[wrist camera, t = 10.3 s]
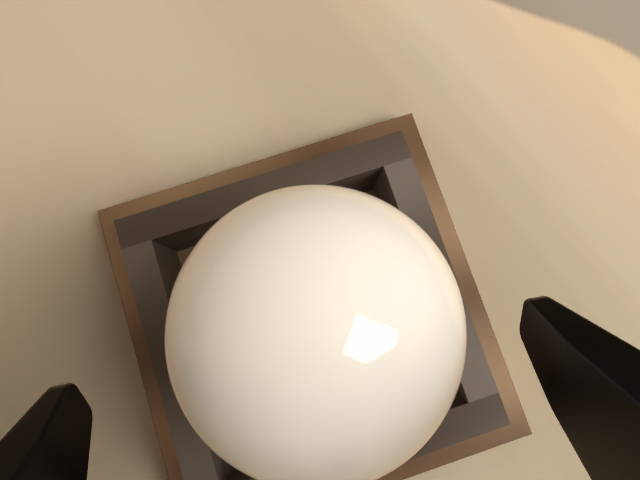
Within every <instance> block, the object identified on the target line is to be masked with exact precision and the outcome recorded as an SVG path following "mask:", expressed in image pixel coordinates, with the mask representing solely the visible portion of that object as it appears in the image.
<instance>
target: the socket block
mask: <svg viewBox="0 0 640 480" xmlns="http://www.w3.org/2000/svg"><path fill="white" fill-rule="evenodd" d="M308 184H322V185H334V186H341V187H346V188H351V189H355V190H358V191H361V192H365V193H367V194H370V195H372V196H375V197H377V198H379V199H381V200H383V201H385V202H387V203H389V204H391V205H392V206H394V207H396V208H397V209H399V210H400V211H402V212H403V213H404V214H406V215H407V216H408V217H410V218H411V219H412V220H413V221H414V222H416V223H417V224H418V225H419V226H420V227H421V228H422V229H423V230H424V231H425V232H426V233H427V234H428V235H429V236H430V238H431V239H432V240H433V241H434V243H435V244H436V245H437V247H438V248H439V249H440V251H441V252H442V254H443V255H444V257H445V259H446V260H447V262H448V264H449V266H450V268H451V270H452V272H453V274H454V276H455V279H456V281H457V284H458V287H459V290H460V293H461V297H462V301H463V305H464V310H465V317H466V327H467V348H466V359H465V365H464V370H463V375H462V379H461V382H460V385H459V389H458V391H457V394H456V397H455V399H454V401H453V403H452V406H451V408H450V410H449V411H448V413H447V415H446V417H445V419H444V420H443V422H442V423H441V425H440V426H439V428H438V429H437V431H436V432H435V433H434V435H433V436H432V437H431V438H430V440H429V441H428V442H427V443H426V444H425V445H424V446H423V447H422V448H421V449H420V450H419V451H418V452H417V453H416V454H415V455H414V456H413V457H411V458H410V459H409V460H408V461H406V462H405V463H404V464H402V465H401V466H400V467H398V468H397V469H395V470H393V471H392V472H390V473H388V474H386V475H385V476H382V477H380V478H378V479H376V480H403V479H406V478H409V477H411V476H414V475H417V474H420V473H423V472H426V471H428V470H431V469H434V468H437V467H440V466H442V465H445V464H448V463H451V462H454V461H457V460H459V459H462V458H465V457H468V456H471V455H474V454H476V453H479V452H482V451H485V450H488V449H490V448H493V447H496V446H499V445H502V444H505V443H507V442H510V441H513V440H516V439H519V438H522V437H524V436H527V435H530V434H532V433H531V430H530V427H529V425H528V422H527V419H526V417H525V414H524V411H523V409H522V406H521V403H520V401H519V398H518V395H517V393H516V390H515V387H514V385H513V382H512V379H511V377H510V374H509V371H508V369H507V366H506V363H505V361H504V358H503V355H502V353H501V350H500V347H499V345H498V342H497V339H496V337H495V334H494V331H493V329H492V326H491V324H490V321H489V318H488V316H487V313H486V310H485V308H484V305H483V302H482V300H481V297H480V294H479V292H478V289H477V286H476V284H475V281H474V278H473V276H472V273H471V270H470V268H469V265H468V262H467V260H466V257H465V254H464V252H463V249H462V246H461V244H460V241H459V238H458V236H457V233H456V230H455V228H454V225H453V222H452V220H451V217H450V214H449V212H448V209H447V206H446V204H445V201H444V198H443V196H442V193H441V190H440V188H439V185H438V182H437V180H436V177H435V174H434V172H433V169H432V166H431V164H430V161H429V158H428V156H427V153H426V150H425V148H424V145H423V142H422V140H421V137H420V134H419V132H418V129H417V126H416V124H415V121H414V118H413V116H412V113H411V114H407V115H404V116H401V117H398V118H395V119H391V120H388V121H385V122H382V123H379V124H375V125H372V126H369V127H366V128H363V129H359V130H356V131H353V132H350V133H347V134H343V135H340V136H337V137H334V138H331V139H327V140H324V141H321V142H318V143H315V144H311V145H308V146H305V147H302V148H299V149H295V150H292V151H289V152H286V153H283V154H279V155H276V156H273V157H270V158H267V159H263V160H260V161H257V162H254V163H251V164H247V165H244V166H241V167H238V168H235V169H231V170H228V171H225V172H222V173H219V174H215V175H212V176H209V177H206V178H202V179H199V180H196V181H193V182H190V183H186V184H183V185H180V186H177V187H174V188H170V189H167V190H164V191H161V192H158V193H154V194H151V195H148V196H145V197H142V198H138V199H135V200H132V201H129V202H126V203H122V204H119V205H116V206H113V207H110V208H106V209H103V210H100V211H98V213H99V217H100V221H101V225H102V228H103V232H104V236H105V240H106V243H107V247H108V251H109V255H110V259H111V262H112V266H113V270H114V274H115V277H116V281H117V285H118V289H119V292H120V296H121V300H122V304H123V308H124V311H125V315H126V319H127V323H128V326H129V330H130V334H131V338H132V341H133V345H134V349H135V353H136V357H137V360H138V364H139V368H140V372H141V375H142V379H143V383H144V387H145V390H146V394H147V398H148V402H149V406H150V409H151V413H152V417H153V421H154V424H155V428H156V432H157V436H158V439H159V443H160V447H161V451H162V455H163V458H164V462H165V466H166V470H167V473H168V477H169V480H255V479H253V478H251V477H249V476H247V475H245V474H243V473H242V472H240V471H238V470H236V469H235V468H233V467H232V466H230V465H229V464H228V463H226V462H225V461H224V460H222V459H221V458H220V457H219V456H217V455H216V454H215V453H214V452H213V451H212V450H211V449H210V448H209V447H208V446H207V445H206V444H205V443H204V442H203V441H202V440H201V439H200V437H199V436H198V435H197V434H196V432H195V431H194V430H193V428H192V427H191V425H190V424H189V422H188V421H187V419H186V417H185V416H184V414H183V412H182V410H181V408H180V406H179V404H178V402H177V399H176V397H175V394H174V392H173V389H172V386H171V382H170V379H169V375H168V370H167V365H166V358H165V344H164V333H165V321H166V313H167V308H168V303H169V299H170V295H171V292H172V289H173V286H174V283H175V281H176V278H177V276H178V274H179V272H180V269H181V267H182V266H183V264H184V262H185V260H186V259H187V257H188V255H189V254H190V252H191V251H192V249H193V248H194V246H195V245H196V244H197V242H198V241H199V240H200V239H201V237H202V236H203V235H204V234H205V233H206V232H207V231H208V230H209V229H210V228H211V227H212V226H213V225H214V224H215V223H216V222H217V221H218V220H219V219H221V218H222V217H223V216H224V215H226V214H227V213H228V212H230V211H231V210H233V209H234V208H236V207H237V206H239V205H241V204H242V203H244V202H246V201H248V200H250V199H252V198H254V197H256V196H259V195H261V194H264V193H267V192H270V191H273V190H276V189H280V188H284V187H290V186H296V185H308Z"/></svg>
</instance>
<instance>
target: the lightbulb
mask: <svg viewBox="0 0 640 480" xmlns="http://www.w3.org/2000/svg"><path fill="white" fill-rule="evenodd" d="M164 344H165V358H166V365H167V370H168V375H169V379H170V382H171V386H172V389H173V392H174V394H175V397H176V399H177V402H178V404H179V406H180V408H181V410H182V412H183V414H184V416H185V417H186V419H187V421H188V422H189V424H190V425H191V427H192V428H193V430H194V431H195V432H196V434H197V435H198V436H199V437H200V439H201V440H202V441H203V442H204V443H205V444H206V445H207V446H208V447H209V448H210V449H211V450H212V451H213V452H214V453H215V454H216V455H217V456H219V457H220V458H221V459H222V460H224V461H225V462H226V463H228V464H229V465H230V466H232V467H233V468H235V469H236V470H238V471H240V472H242V473H243V474H245V475H247V476H249V477H251V478H253V479H255V480H376V479H378V478H380V477H382V476H385V475H386V474H388V473H390V472H392V471H393V470H395V469H397V468H398V467H400V466H401V465H402V464H404V463H405V462H406V461H408V460H409V459H410V458H411V457H413V456H414V455H415V454H416V453H417V452H418V451H419V450H420V449H421V448H422V447H423V446H424V445H425V444H426V443H427V442H428V441H429V440H430V438H431V437H432V436H433V435H434V433H435V432H436V431H437V429H438V428H439V426H440V425H441V423H442V422H443V420H444V419H445V417H446V415H447V413H448V411H449V410H450V408H451V406H452V403H453V401H454V399H455V397H456V394H457V391H458V389H459V385H460V382H461V379H462V375H463V370H464V365H465V359H466V348H467V327H466V317H465V310H464V305H463V301H462V297H461V293H460V290H459V287H458V284H457V281H456V279H455V276H454V274H453V272H452V270H451V268H450V266H449V264H448V262H447V260H446V259H445V257H444V255H443V254H442V252H441V251H440V249H439V248H438V247H437V245H436V244H435V243H434V241H433V240H432V239H431V238H430V236H429V235H428V234H427V233H426V232H425V231H424V230H423V229H422V228H421V227H420V226H419V225H418V224H417V223H416V222H414V221H413V220H412V219H411V218H410V217H408V216H407V215H406V214H404V213H403V212H402V211H400V210H399V209H397V208H396V207H394V206H392V205H391V204H389V203H387V202H385V201H383V200H381V199H379V198H377V197H375V196H372V195H370V194H367V193H365V192H361V191H358V190H355V189H351V188H346V187H341V186H334V185H322V184H308V185H296V186H290V187H284V188H280V189H276V190H273V191H270V192H267V193H264V194H261V195H259V196H256V197H254V198H252V199H250V200H248V201H246V202H244V203H242V204H241V205H239V206H237V207H236V208H234V209H233V210H231V211H230V212H228V213H227V214H226V215H224V216H223V217H222V218H221V219H219V220H218V221H217V222H216V223H215V224H214V225H213V226H212V227H211V228H210V229H209V230H208V231H207V232H206V233H205V234H204V235H203V236H202V237H201V239H200V240H199V241H198V242H197V244H196V245H195V246H194V248H193V249H192V251H191V252H190V254H189V255H188V257H187V259H186V260H185V262H184V264H183V266H182V267H181V269H180V272H179V274H178V276H177V278H176V281H175V283H174V286H173V289H172V292H171V295H170V299H169V303H168V308H167V313H166V321H165V333H164Z"/></svg>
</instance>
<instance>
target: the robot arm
mask: <svg viewBox="0 0 640 480" xmlns="http://www.w3.org/2000/svg"><path fill="white" fill-rule="evenodd" d="M520 335H521V339H522V341H523V343H524V346H525V348H526V350H527V353H528V355H529V358H530V360H531V362H532V365H533V367H534V369H535V372H536V374H537V376H538V379H539V381H540V383H541V386H542V388H543V390H544V393H545V395H546V397H547V399H548V402H549V404H550V406H551V408H552V410H553V412H554V414H555V416H556V417H557V419H558V421H559V423H560V425H561V426H562V428H563V430H564V432H565V433H566V435H567V437H568V439H569V441H570V442H571V444H572V446H573V448H574V449H575V451H576V453H577V455H578V456H579V458H580V460H581V462H582V464H583V465H584V467H585V469H586V471H587V472H588V474H589V476H590V478H591V480H640V350H639V349H637V348H636V347H634V346H632V345H630V344H629V343H627V342H625V341H624V340H622V339H620V338H618V337H617V336H615V335H613V334H611V333H610V332H608V331H606V330H605V329H603V328H601V327H599V326H598V325H596V324H594V323H593V322H591V321H589V320H587V319H586V318H584V317H582V316H581V315H579V314H577V313H575V312H574V311H572V310H570V309H568V308H567V307H565V306H563V305H562V304H560V303H558V302H556V301H555V300H553V299H551V298H549V297H547V296H540V297H535V298H529V299H527V300H525V302H524V304H523V310H522V316H521V322H520ZM91 429H92V411H91V408H90V406H89V405H88V403H87V401H86V400H85V398H84V397H83V395H82V394H81V392H80V391H79V389H78V388H77V386H76V385H74V384H72V383H67V384H62V385H57V386H53V387H50V388H49V389H48V390H47V391H46V392H45V393H44V394H43V395H42V396H41V397H40V398H39V399H38V400H37V401H36V403H35V404H34V405H33V406H32V407H31V408H30V409H29V410H28V411H27V412H26V413H25V414H24V416H23V417H22V418H21V419H20V420H19V421H18V422H17V423H16V424H15V425H14V426H13V427H12V429H11V430H10V431H9V432H8V433H7V434H6V435H5V436H4V437H3V438H2V439H1V440H0V480H87V470H88V460H89V450H90V439H91Z"/></svg>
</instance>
